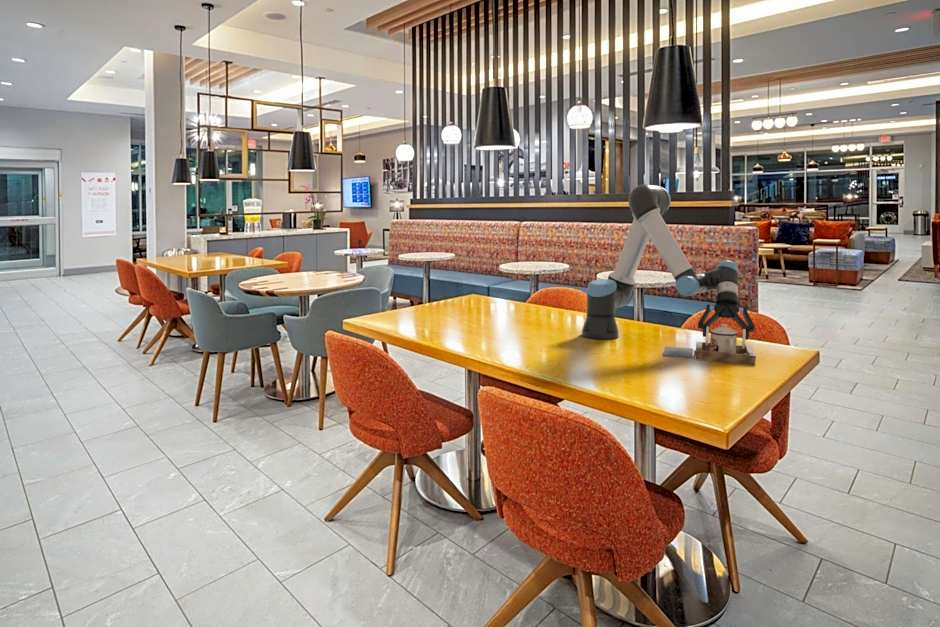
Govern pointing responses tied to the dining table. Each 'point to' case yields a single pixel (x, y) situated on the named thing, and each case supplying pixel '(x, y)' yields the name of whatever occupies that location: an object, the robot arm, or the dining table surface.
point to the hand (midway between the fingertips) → (725, 344)
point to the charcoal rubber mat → (678, 352)
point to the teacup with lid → (723, 339)
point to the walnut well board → (725, 354)
